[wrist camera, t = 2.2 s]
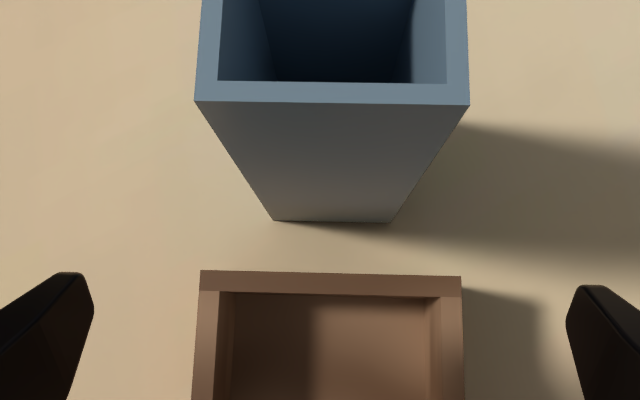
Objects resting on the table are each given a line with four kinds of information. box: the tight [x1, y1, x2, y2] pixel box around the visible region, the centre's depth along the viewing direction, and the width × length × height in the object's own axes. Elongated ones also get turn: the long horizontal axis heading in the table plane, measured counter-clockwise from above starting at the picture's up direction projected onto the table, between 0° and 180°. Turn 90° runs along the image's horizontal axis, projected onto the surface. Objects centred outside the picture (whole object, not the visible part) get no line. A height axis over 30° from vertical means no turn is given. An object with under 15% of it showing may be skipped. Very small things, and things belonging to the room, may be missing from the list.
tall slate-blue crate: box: [194, 0, 470, 223], centre depth 16 cm, size 5×5×13 cm
